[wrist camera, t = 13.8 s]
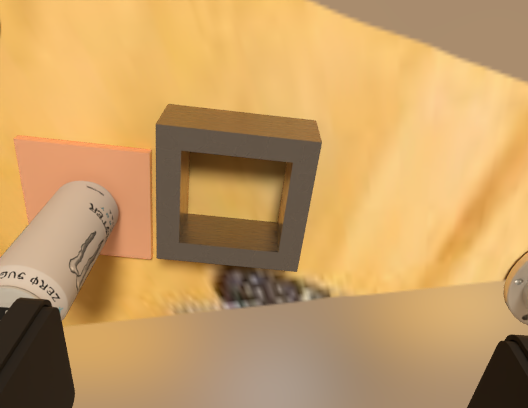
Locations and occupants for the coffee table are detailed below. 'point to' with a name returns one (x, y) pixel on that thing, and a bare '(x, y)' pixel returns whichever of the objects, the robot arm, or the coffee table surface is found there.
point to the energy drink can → (58, 247)
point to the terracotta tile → (97, 171)
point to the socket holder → (240, 145)
